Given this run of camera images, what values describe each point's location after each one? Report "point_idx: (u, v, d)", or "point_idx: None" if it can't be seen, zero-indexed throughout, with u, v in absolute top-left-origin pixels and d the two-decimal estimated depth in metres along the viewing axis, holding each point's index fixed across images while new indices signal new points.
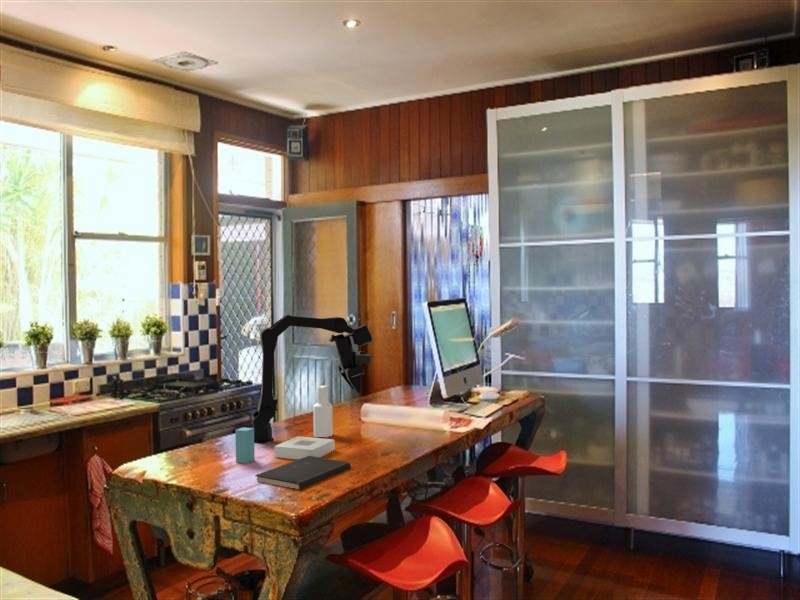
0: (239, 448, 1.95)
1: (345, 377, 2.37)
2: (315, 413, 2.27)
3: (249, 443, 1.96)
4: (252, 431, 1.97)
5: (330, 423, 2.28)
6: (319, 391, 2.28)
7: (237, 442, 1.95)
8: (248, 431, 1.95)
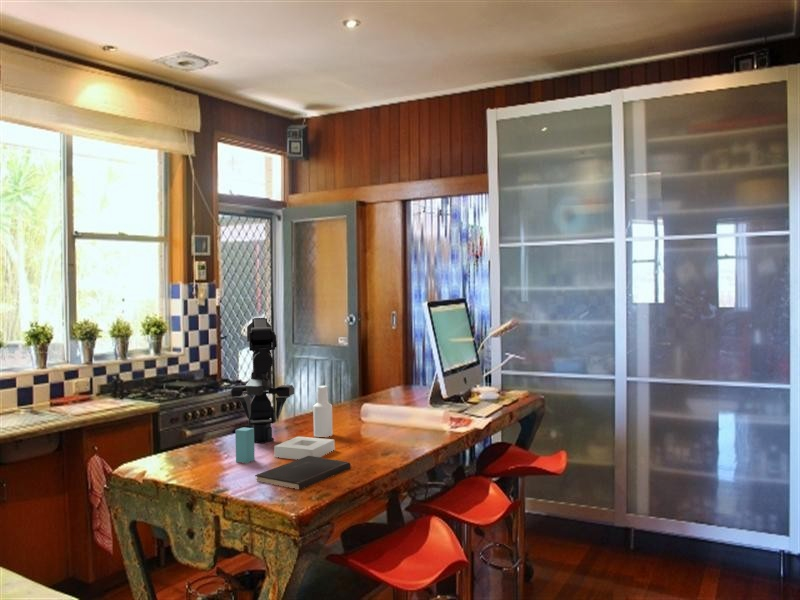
0: (239, 448, 1.95)
1: None
2: (315, 413, 2.27)
3: (249, 443, 1.96)
4: (252, 431, 1.97)
5: (330, 423, 2.28)
6: (319, 391, 2.28)
7: (237, 442, 1.95)
8: (248, 431, 1.95)
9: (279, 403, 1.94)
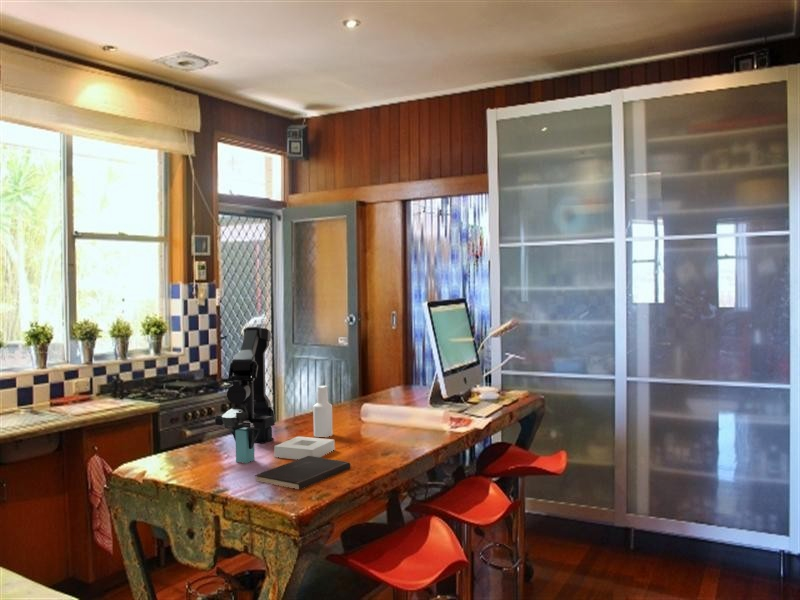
0: (239, 448, 1.95)
1: None
2: (315, 413, 2.27)
3: None
4: None
5: (330, 423, 2.28)
6: (319, 391, 2.28)
7: (237, 442, 1.95)
8: None
9: (251, 434, 1.94)
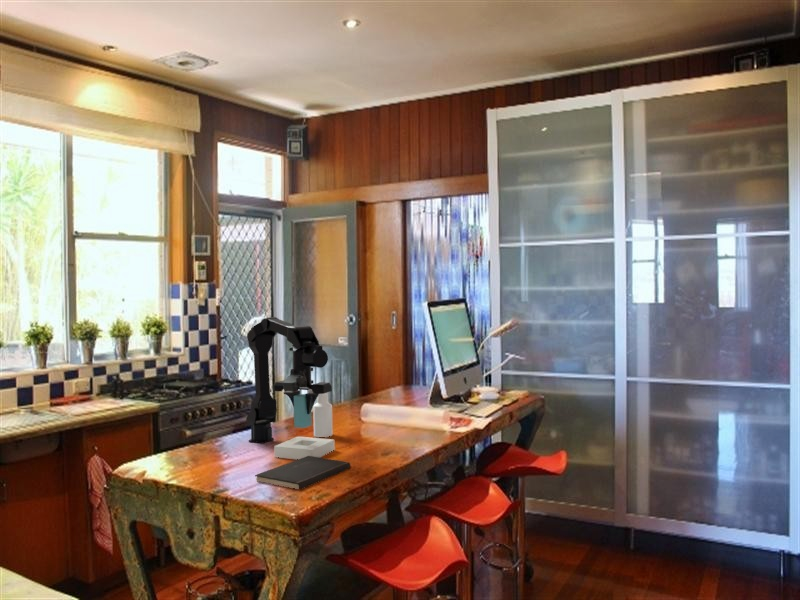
0: (297, 413, 2.02)
1: None
2: (315, 413, 2.27)
3: None
4: None
5: (330, 423, 2.28)
6: None
7: (295, 407, 2.03)
8: None
9: (309, 399, 2.01)
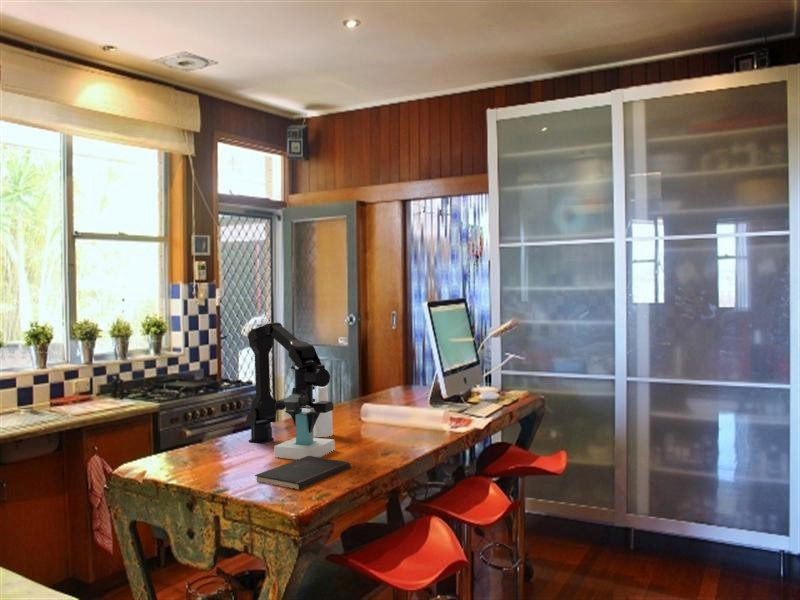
0: (299, 432, 2.03)
1: None
2: None
3: None
4: None
5: (330, 423, 2.28)
6: (319, 391, 2.28)
7: (297, 426, 2.03)
8: None
9: (311, 418, 2.02)
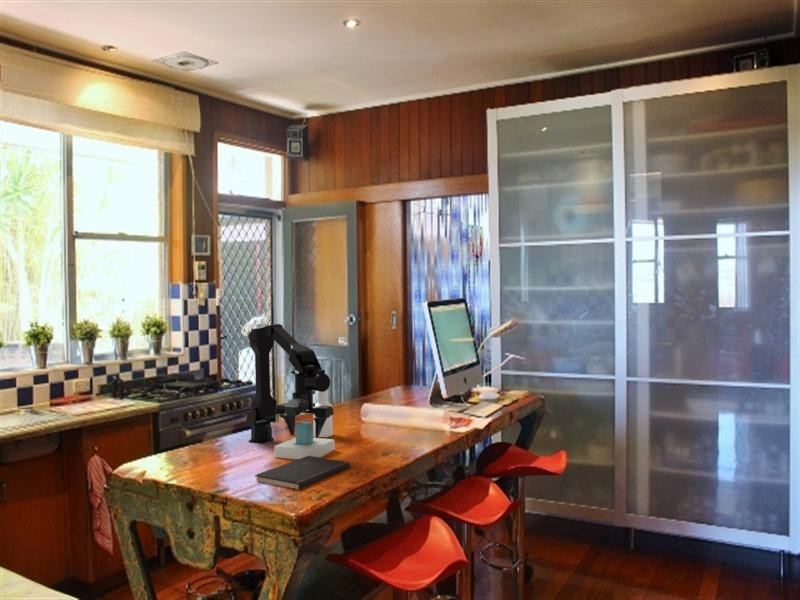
0: (299, 441, 2.03)
1: None
2: None
3: (309, 437, 2.03)
4: (311, 425, 2.05)
5: (330, 423, 2.28)
6: (319, 391, 2.28)
7: (297, 435, 2.03)
8: (308, 425, 2.03)
9: (317, 423, 2.01)
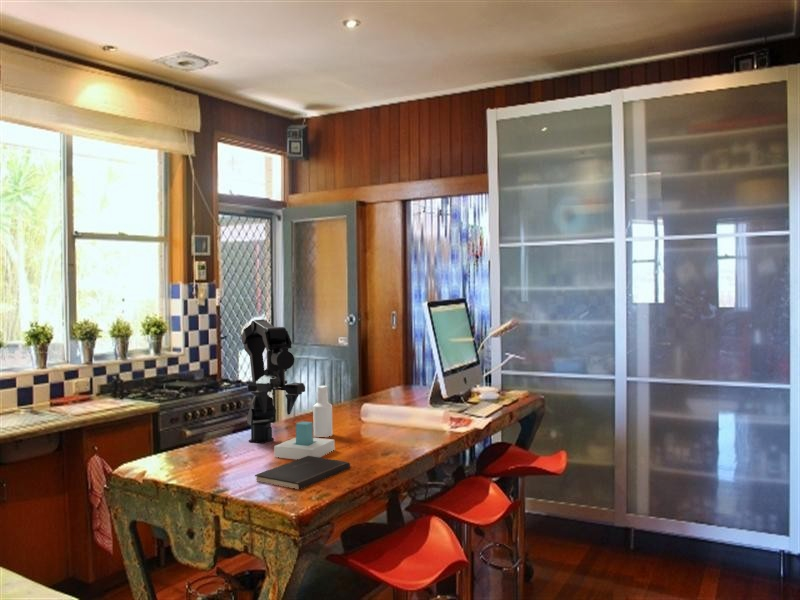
0: (299, 441, 2.03)
1: None
2: (315, 413, 2.27)
3: (309, 437, 2.03)
4: (311, 425, 2.05)
5: (330, 423, 2.28)
6: (319, 391, 2.28)
7: (297, 435, 2.03)
8: (308, 425, 2.03)
9: (289, 400, 2.03)
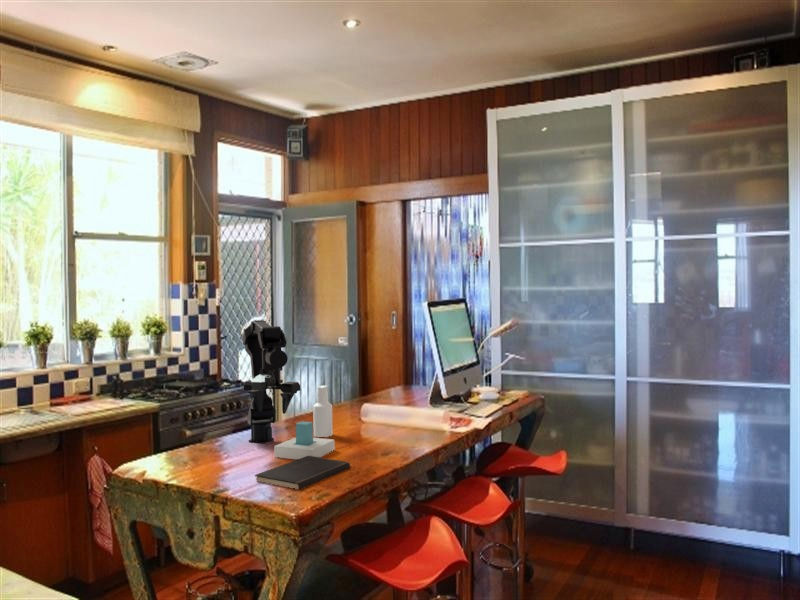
0: (299, 441, 2.03)
1: None
2: (315, 413, 2.27)
3: (309, 437, 2.03)
4: (311, 425, 2.05)
5: (330, 423, 2.28)
6: (319, 391, 2.28)
7: (297, 435, 2.03)
8: (308, 425, 2.03)
9: (284, 399, 2.03)
